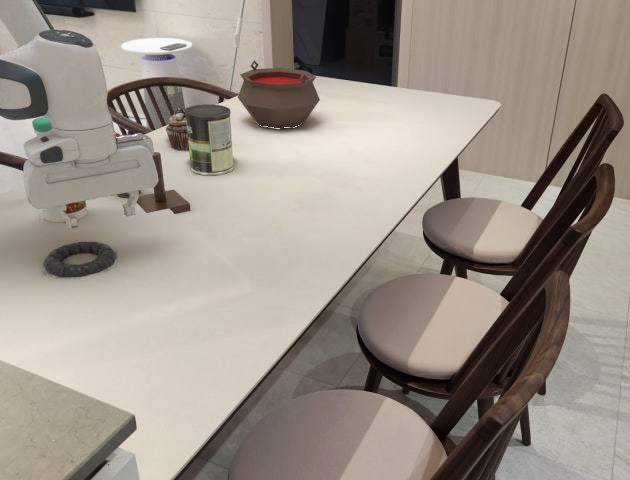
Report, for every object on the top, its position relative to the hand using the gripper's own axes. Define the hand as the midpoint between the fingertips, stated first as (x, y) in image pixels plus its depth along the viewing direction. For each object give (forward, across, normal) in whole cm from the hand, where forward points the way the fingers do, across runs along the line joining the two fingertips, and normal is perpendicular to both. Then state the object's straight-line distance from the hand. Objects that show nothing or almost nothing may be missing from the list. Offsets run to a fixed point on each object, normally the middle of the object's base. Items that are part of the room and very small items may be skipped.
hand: (101, 220), depth 107 cm
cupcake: (+8, -36, -54) cm, 65 cm away
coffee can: (+8, -34, -35) cm, 50 cm away
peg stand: (+8, -16, -19) cm, 26 cm away
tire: (+6, +5, 0) cm, 8 cm away
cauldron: (+8, -68, -62) cm, 92 cm away
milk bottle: (+8, +2, -21) cm, 23 cm away
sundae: (+8, -12, -29) cm, 33 cm away
